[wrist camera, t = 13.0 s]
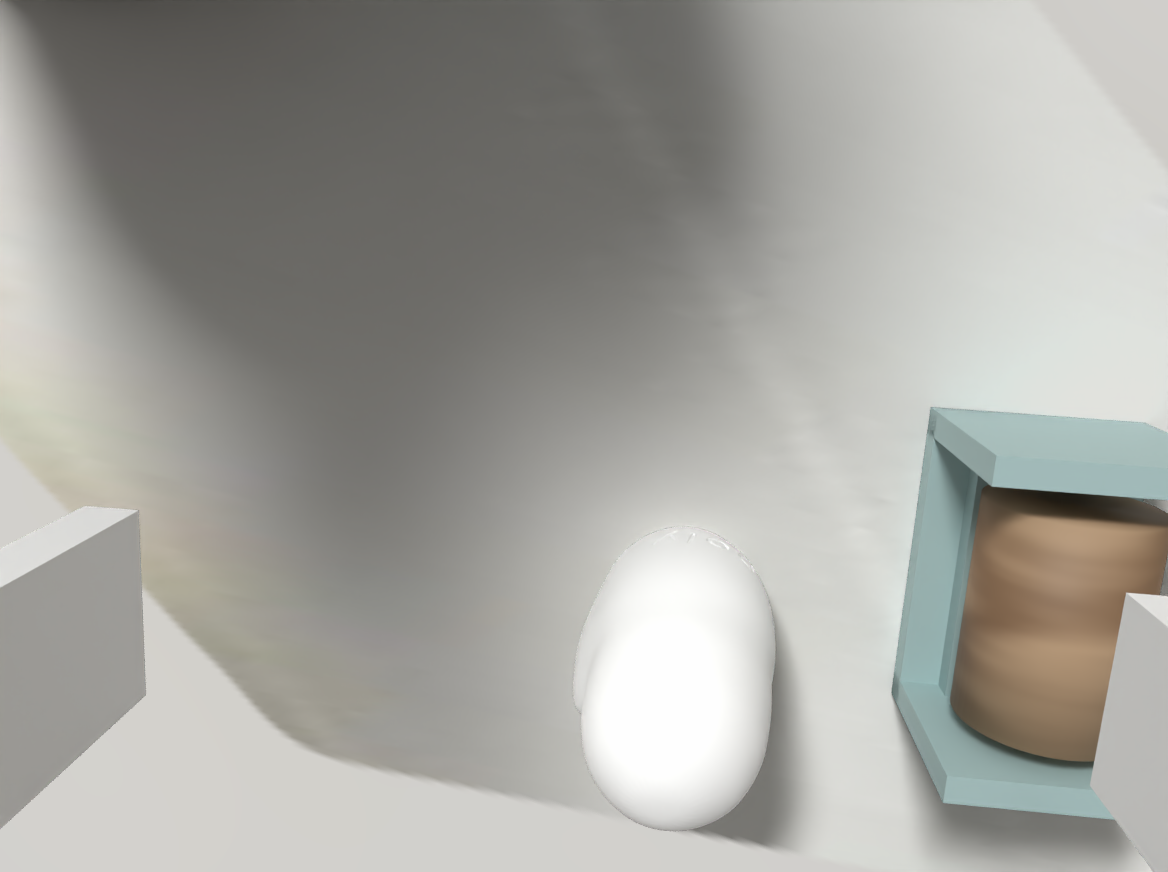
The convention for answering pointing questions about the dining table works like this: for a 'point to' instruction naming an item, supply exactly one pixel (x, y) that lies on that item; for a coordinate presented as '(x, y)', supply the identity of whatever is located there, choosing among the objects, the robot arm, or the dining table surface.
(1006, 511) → the roll
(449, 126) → the dining table surface
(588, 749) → the figurine
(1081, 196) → the dining table surface
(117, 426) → the dining table surface
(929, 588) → the cradle
